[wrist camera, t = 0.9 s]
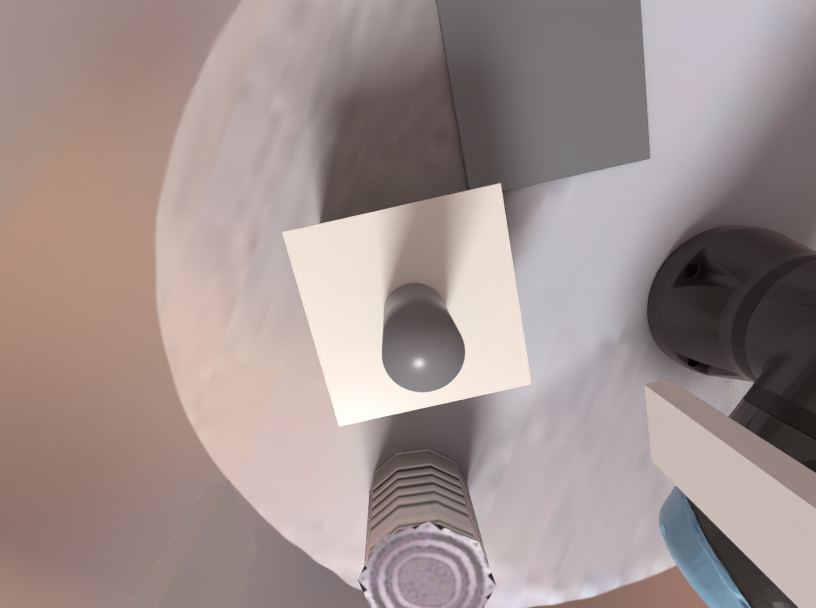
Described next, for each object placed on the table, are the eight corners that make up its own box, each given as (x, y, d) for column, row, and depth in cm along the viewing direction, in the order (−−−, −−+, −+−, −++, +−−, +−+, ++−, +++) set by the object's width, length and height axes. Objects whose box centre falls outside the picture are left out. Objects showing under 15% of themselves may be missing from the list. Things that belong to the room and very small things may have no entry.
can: (394, 546, 48) (395, 656, 37) (350, 472, 45) (336, 566, 34) (483, 509, 47) (513, 609, 36) (443, 431, 45) (462, 512, 33)
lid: (492, 184, 29) (545, 176, 19) (521, 371, 33) (578, 445, 23) (290, 230, 30) (239, 245, 20) (342, 411, 33) (322, 501, 23)
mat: (633, -51, 34) (636, -55, 34) (646, 159, 38) (649, 158, 38) (434, -6, 34) (435, -9, 34) (470, 198, 39) (471, 198, 38)
